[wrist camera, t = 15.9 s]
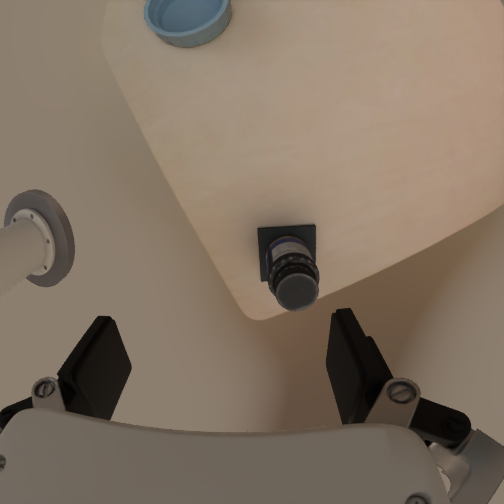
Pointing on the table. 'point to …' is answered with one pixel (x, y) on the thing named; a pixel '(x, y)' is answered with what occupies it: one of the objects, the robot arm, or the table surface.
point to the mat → (271, 233)
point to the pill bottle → (292, 273)
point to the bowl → (187, 20)
